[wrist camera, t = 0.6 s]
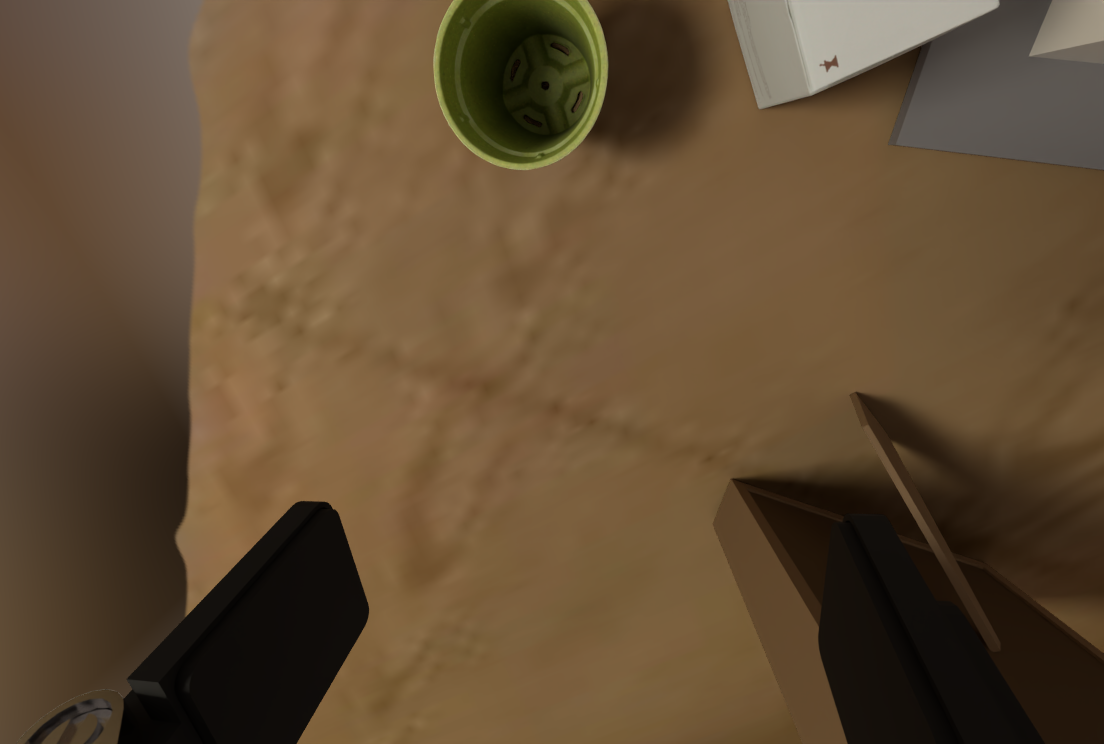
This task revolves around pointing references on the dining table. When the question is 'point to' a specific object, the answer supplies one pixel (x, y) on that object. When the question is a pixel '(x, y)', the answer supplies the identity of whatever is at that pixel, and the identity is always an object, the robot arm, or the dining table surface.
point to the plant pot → (520, 77)
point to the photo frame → (977, 589)
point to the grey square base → (1013, 86)
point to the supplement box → (835, 38)
